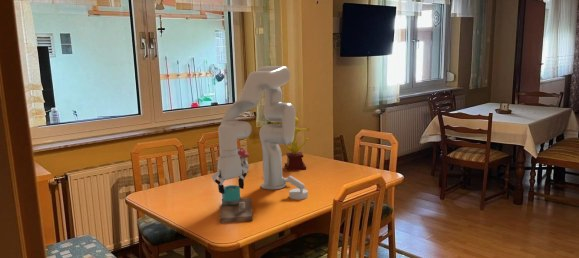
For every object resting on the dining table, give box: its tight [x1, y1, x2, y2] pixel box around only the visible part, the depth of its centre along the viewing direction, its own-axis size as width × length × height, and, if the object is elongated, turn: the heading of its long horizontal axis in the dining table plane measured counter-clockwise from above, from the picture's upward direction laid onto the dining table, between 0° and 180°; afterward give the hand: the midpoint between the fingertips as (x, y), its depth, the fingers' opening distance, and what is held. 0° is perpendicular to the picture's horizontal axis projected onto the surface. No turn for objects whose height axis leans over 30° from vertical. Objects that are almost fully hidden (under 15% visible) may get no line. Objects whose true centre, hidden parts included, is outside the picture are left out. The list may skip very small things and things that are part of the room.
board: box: [219, 188, 254, 224], centre depth 191 cm, size 13×23×8 cm, turn 6°
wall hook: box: [286, 175, 309, 200], centre depth 208 cm, size 9×10×10 cm
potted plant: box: [284, 116, 310, 172], centre depth 258 cm, size 14×16×30 cm
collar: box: [221, 184, 241, 202], centre depth 196 cm, size 7×7×5 cm
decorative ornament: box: [238, 147, 250, 174], centre depth 254 cm, size 9×6×15 cm
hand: (231, 190), depth 196 cm, fingers open, 9 cm apart
